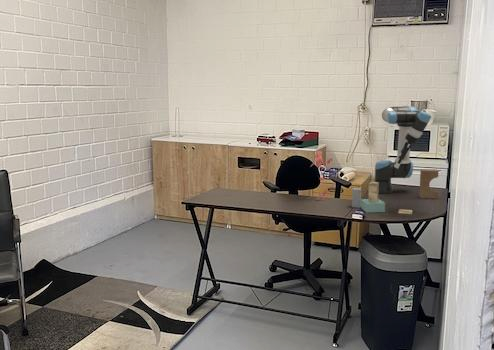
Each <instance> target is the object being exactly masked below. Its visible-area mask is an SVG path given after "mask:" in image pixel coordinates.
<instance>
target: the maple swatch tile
mask: <svg viewBox="0 0 494 350" xmlns="http://www.w3.org/2000/svg"><path fill="white" fill-rule="evenodd" d="M397 213H398V214H399V215H400V214H401V215H402V214H403V215H413V210H412V209H399V208H398V212H397Z"/></svg>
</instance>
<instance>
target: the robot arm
mask: <svg viewBox="0 0 494 350" xmlns="http://www.w3.org/2000/svg"><path fill="white" fill-rule="evenodd" d="M381 118H382V120H383V122H386V123H388V124H389V125H397V127H398V139H397V140H398V141H397V154H396V155H397V156H396V158H395V159H394V162H393V161H392V160H390V159H389V160H388V159H387V160H380V161H376V163H375V164H374V165H375V166H374V182H378V194H381V195H382V194H385V195H386V194H393V193H394V189H393V184H392V179H410V178H411V177H412V175H413V171H414V163H413V162H412V160H411V159H410V153H411V147H412V146H413V145H412V144H415V145H416V144H417V143H418V141H419V138H421V136H423V133H424V131H425V130H426V127H427V126H428V124H429V123H430V121H431V119H432V115H431V114H429V113H428V112H426V111H423V110H420V109H417V108H416V107H415V106H410V105H407V106H405V105H404V106H390V107H387V108H386V109H383V111H382V112H381Z"/></svg>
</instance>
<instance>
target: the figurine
mask: <svg viewBox="0 0 494 350" xmlns="http://www.w3.org/2000/svg"><path fill="white" fill-rule="evenodd" d="M322 154H323V152H322V150H321V151H320V149H319V150H317V151H316V154H314V157H315V161H313V163H312V164H311V165H310V167H312V166H314V165H315V166H316V167H317V166H318V167H317V168H318V169H319V168H320V174H322V171H323V170H324V169H325V168H327V169H330V168H331V164H332V161H333V158H332V157H330V158H329V159H327V161H326V164H327V165H329V166H326V165H325V164H324V160H323V155H322ZM322 165H323V167H322ZM319 180H320V186H323V185H322V181H324V182H325V186H328V185H327V180H325V178H324V177H323V176H320V177H319ZM325 195H327V197H328V198H329V199H330V198H331V197H330V195H329V193H328V189H325V191H324V192H322V189H320V192H319V194H318V196H317V198H316V200H319V199H320V197H321V198H322V199H323V201H325V198H324V197H325ZM312 197H313V196H310V198H312ZM306 199H307V200H308V199H309V197H307V198H306Z"/></svg>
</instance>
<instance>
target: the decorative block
mask: <svg viewBox="0 0 494 350" xmlns="http://www.w3.org/2000/svg"><path fill="white" fill-rule="evenodd" d="M439 173H440V172H439V170H438V169H436V168H435V169H433V168H431V169H429V168H424V169H423V168H422V169H421V168H420V175H419V195H418V196H419V198H420V199H425V198H428V199H434V200H435V199H438V191H437V190H435V189H432V188H431V187H430V184H431V183H430V182H431V181H432V180H434V179H437V178H439Z"/></svg>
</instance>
